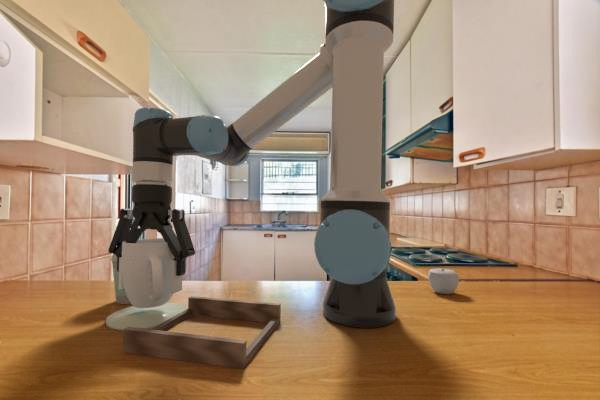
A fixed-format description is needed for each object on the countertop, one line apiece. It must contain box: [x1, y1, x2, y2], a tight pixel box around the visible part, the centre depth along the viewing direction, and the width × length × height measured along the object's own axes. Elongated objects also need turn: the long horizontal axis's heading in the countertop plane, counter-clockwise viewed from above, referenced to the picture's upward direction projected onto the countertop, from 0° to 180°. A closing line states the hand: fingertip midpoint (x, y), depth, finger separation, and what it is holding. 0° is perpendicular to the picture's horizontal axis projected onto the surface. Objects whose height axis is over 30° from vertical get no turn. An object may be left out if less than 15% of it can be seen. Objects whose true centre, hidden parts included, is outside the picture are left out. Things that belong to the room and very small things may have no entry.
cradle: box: [122, 295, 282, 370], centre depth 52 cm, size 20×18×4 cm
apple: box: [427, 267, 460, 295], centre depth 81 cm, size 8×8×7 cm
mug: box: [122, 237, 175, 308], centre depth 60 cm, size 15×11×13 cm
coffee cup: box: [110, 253, 132, 305], centre depth 72 cm, size 8×8×12 cm
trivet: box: [105, 301, 188, 332], centre depth 61 cm, size 15×15×1 cm
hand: (150, 289), depth 61 cm, fingers closed on mug, 12 cm apart
